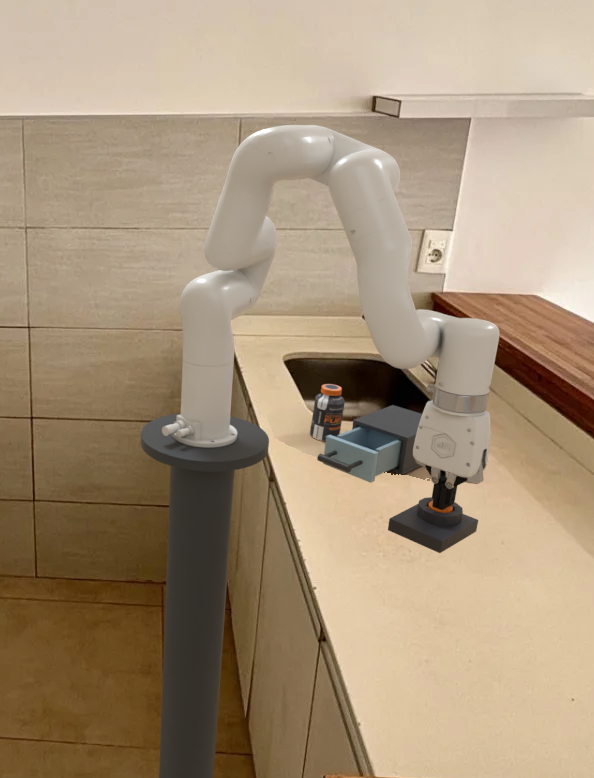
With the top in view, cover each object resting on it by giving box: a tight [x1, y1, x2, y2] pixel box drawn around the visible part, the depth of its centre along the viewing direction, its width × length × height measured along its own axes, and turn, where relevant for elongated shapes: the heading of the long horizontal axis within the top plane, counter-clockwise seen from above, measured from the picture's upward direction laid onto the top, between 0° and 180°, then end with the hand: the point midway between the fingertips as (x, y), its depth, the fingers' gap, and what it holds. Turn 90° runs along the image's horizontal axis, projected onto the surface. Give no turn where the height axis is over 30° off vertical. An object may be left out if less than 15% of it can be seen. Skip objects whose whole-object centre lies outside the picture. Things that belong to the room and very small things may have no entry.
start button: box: [428, 501, 453, 513], centre depth 124 cm, size 4×4×2 cm
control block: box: [387, 496, 479, 554], centre depth 124 cm, size 11×9×4 cm
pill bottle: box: [309, 383, 346, 442], centre depth 160 cm, size 6×6×11 cm
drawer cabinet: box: [351, 404, 423, 476], centre depth 151 cm, size 14×12×8 cm
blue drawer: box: [316, 426, 403, 484], centre depth 144 cm, size 17×10×6 cm, turn 127°
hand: (442, 505), depth 124 cm, fingers closed
